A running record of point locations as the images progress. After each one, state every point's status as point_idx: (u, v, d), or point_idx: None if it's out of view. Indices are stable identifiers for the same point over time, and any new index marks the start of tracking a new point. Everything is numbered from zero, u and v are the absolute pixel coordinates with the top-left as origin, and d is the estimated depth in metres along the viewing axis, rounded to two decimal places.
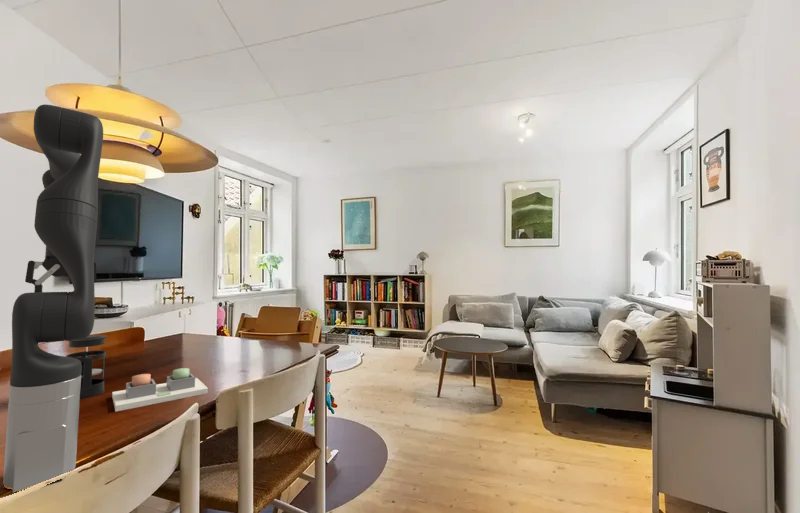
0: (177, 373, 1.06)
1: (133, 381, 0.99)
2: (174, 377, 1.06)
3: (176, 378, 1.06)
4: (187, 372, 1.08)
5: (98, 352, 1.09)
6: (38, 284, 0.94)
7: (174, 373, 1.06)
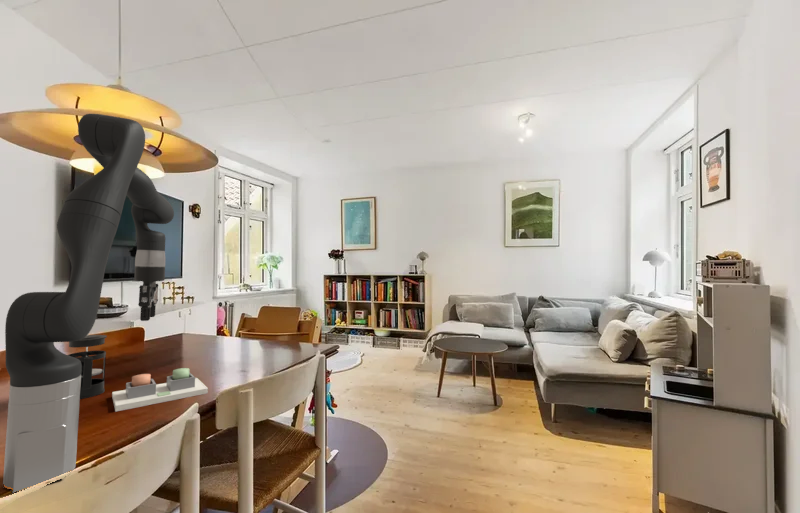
0: (177, 373, 1.06)
1: (133, 381, 0.99)
2: (174, 377, 1.06)
3: (176, 378, 1.06)
4: (187, 372, 1.08)
5: (98, 352, 1.09)
6: (150, 306, 1.02)
7: (174, 373, 1.06)
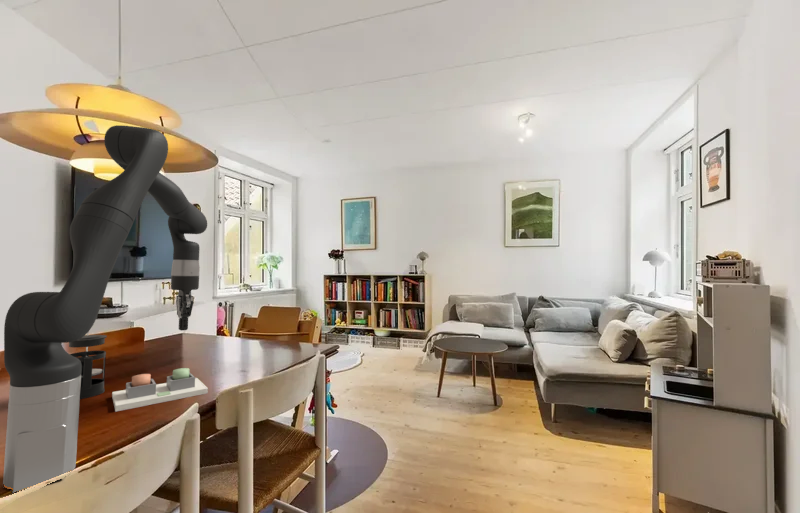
0: (177, 373, 1.06)
1: (133, 381, 0.99)
2: (174, 377, 1.06)
3: (176, 378, 1.06)
4: (187, 372, 1.08)
5: (98, 352, 1.09)
6: None
7: (174, 373, 1.06)
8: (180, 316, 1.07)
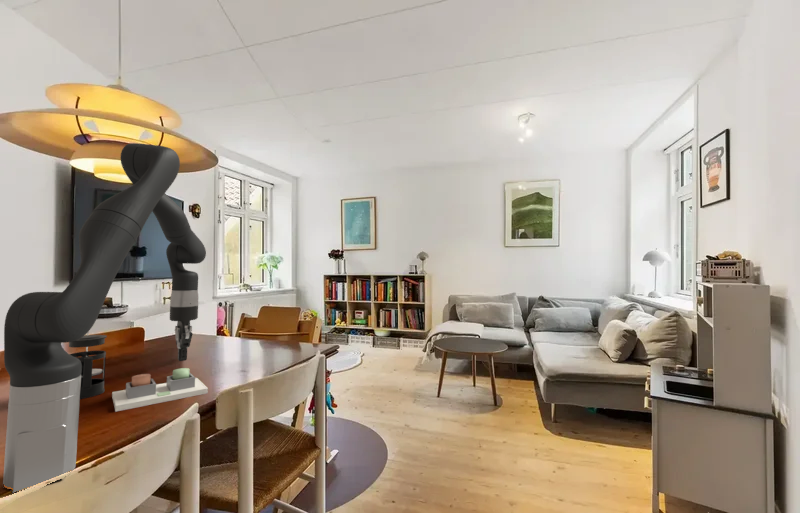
0: (177, 373, 1.06)
1: (133, 381, 0.99)
2: (174, 377, 1.06)
3: (176, 378, 1.06)
4: (187, 372, 1.08)
5: (98, 352, 1.09)
6: None
7: (174, 373, 1.06)
8: (179, 347, 1.07)
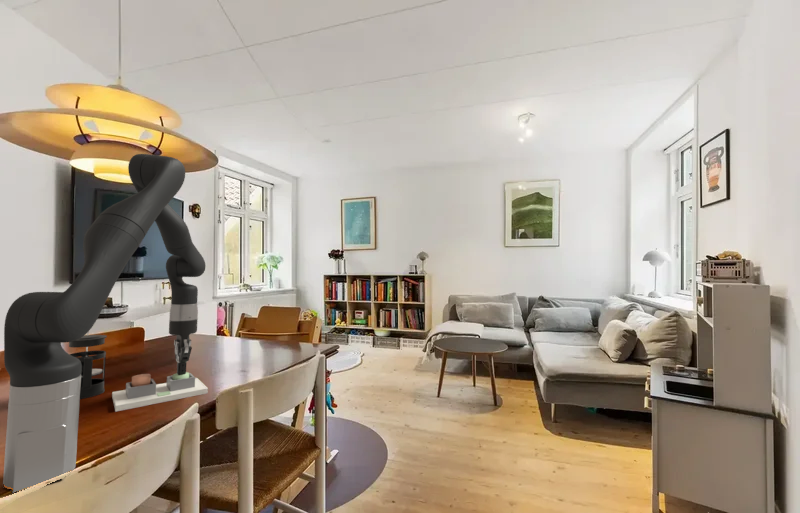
0: (177, 377, 1.06)
1: (133, 381, 0.99)
2: None
3: None
4: (187, 376, 1.08)
5: (98, 352, 1.09)
6: None
7: (174, 377, 1.06)
8: (178, 361, 1.06)
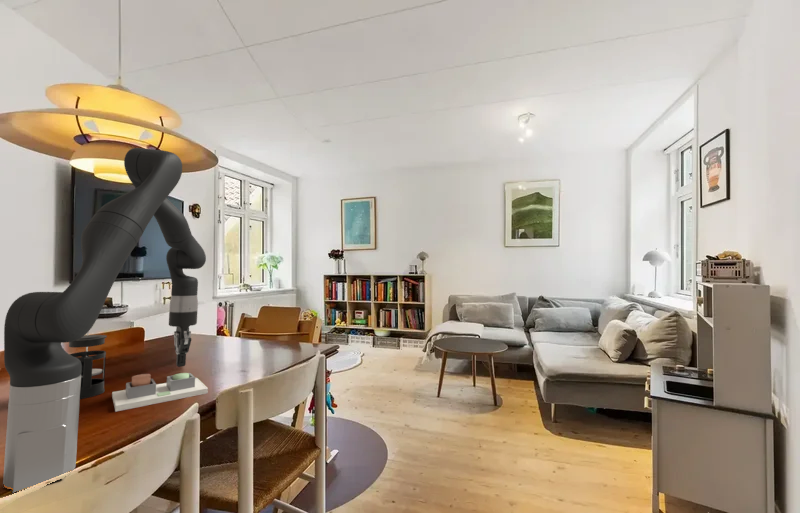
0: (177, 378, 1.06)
1: (133, 381, 0.99)
2: None
3: None
4: (187, 377, 1.08)
5: (98, 352, 1.09)
6: None
7: (174, 378, 1.06)
8: (178, 352, 1.06)
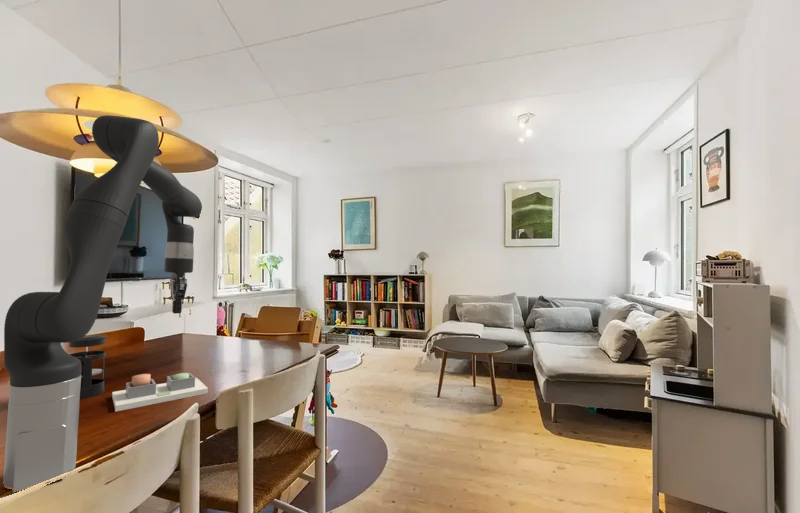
0: (177, 378, 1.06)
1: (133, 381, 0.99)
2: None
3: None
4: (187, 377, 1.08)
5: (98, 352, 1.09)
6: None
7: (174, 378, 1.06)
8: (174, 299, 1.06)
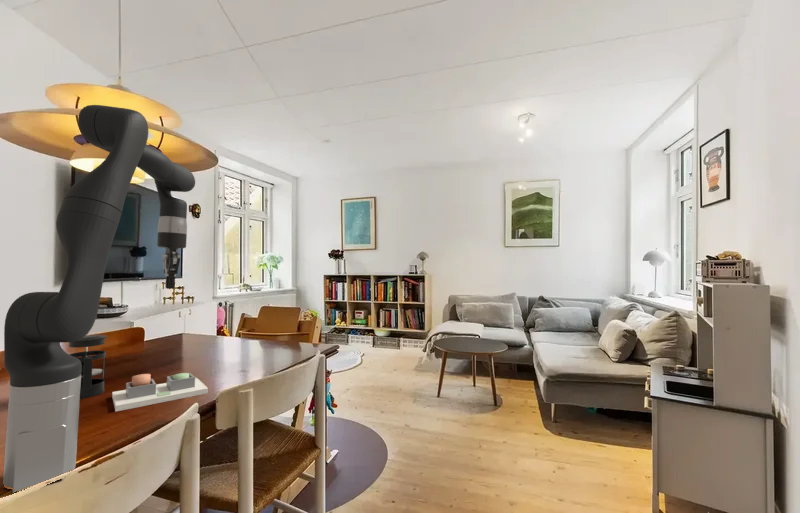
0: (177, 378, 1.06)
1: (133, 381, 0.99)
2: None
3: None
4: (187, 377, 1.08)
5: (98, 352, 1.09)
6: None
7: (174, 378, 1.06)
8: (167, 274, 1.05)
